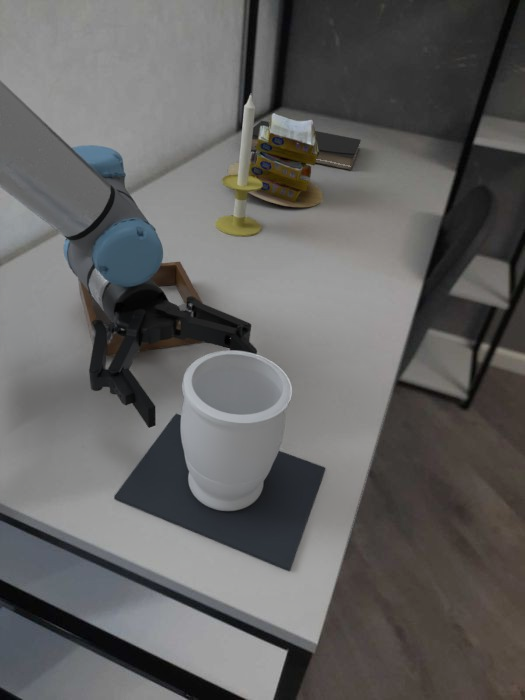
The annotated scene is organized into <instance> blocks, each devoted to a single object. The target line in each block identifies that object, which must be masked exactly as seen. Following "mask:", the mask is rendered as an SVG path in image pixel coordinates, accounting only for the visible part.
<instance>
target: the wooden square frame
mask: <svg viewBox="0 0 525 700" xmlns="http://www.w3.org/2000/svg"><path fill="white" fill-rule="evenodd" d="M151 279H152V280H153V281H154V282H155V283H156V284H157V285H158V286H159V287H164V286H165V287H166V286H175V287H176V289H177V290H178V292H179V294H180V296H181V299H182V300H183V303H184V304H185V303H187V297H190V296H192V297H195V298H196V299H198V300H199V301H200V302H201V303H203V301H202V299H201V297H200V296H199V294H198V292H197V290H196V288H195V286H194V284H193V282H192V281H191V279H190V277H189V275H188V273H187V271H186V270H185V268H184V266H183V265H182V262H181V261H170V262H162V263H161V266H160V268H159V269H158V271H157V272H156V273H155V274H154V275H153V277H151ZM77 280H78V289H79V290H78V291H79V295H80V299H81V302H82V303H81V304H82V307H83V312H84V316H85V319H86V322H87V328H88V331H89V335H90V340H91V344H92V346H93V345H94V337H93V327H92V321H94V320H98V318H97V315H96V311H95V307H94V303H93V300H92V295H91V294H90V292H89V291H88V290H87V288H86V287H85V286H84V285H83V283H82V282H81V281H80V280H79V278H78V277H77ZM177 329H179V330H181V321H180V320H179V323H178V327H177ZM123 339H124V337H121V336H119V335H118V334H116V333H115V334H113V338H112V339H111V340H110V343H107V344H108V352H107V357H111V356H115V354H116V353H117V351H118V349H119V347H120V345H121V343H122V341H123ZM198 343H203V342H202V341H198V340H194V339H190V338H186V339H185V340H181V339H178V338H174V337H172V338H171V339H167V340H160V341H158V342H156V343H154V344H150V345H149V344H148V343H143V344H142V346H141V348H140V350H139V352H143V351H144V352H145V351H149V350H156V349H163V348H170V347H171V348H172V347H177V346H184V345H191V344H198Z"/></svg>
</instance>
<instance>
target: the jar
mask: <svg viewBox="0 0 525 700" xmlns="http://www.w3.org/2000/svg"><path fill="white" fill-rule="evenodd" d="M181 387H182V388H181V390H182V394H183V397H184V399H183V402H182V408H181V414H180V415H181V424H180V429H181V440H182V445H183V449H184V455H185V460H186V464H187V467H188V470H189V475H188V482H189V487H190V489H191V491H192V493H193V495H194V496H195V497H196V498H197V499H198V500H199V501H200V502H201V503H203V504H204V505H206V506H208V507H210V508H213V509H216V510H220V511H236V510H240V509H243V508H245V507H248V506H249V505H251V504H252V503H254V502H255V501H256V500H257V498H258V497H259V496H260V494H261V492H262V489H263V483H264V480H265V478H266V477H267V475H268V473H269V471H270V469H271V467H272V465H273V462H274V460H275V458H276V456H277V454H278V452H279V451H280V449H281V446H282V444H283V443H282V442H283V438H284V434H285V426H286V411H287V410H288V407H289V406H290V402H291V399H292V395H293V387H292V383H291V380H290V378H289V377H288V375H287V374H286V372H285V371H284V369H282V367H280V366H279V365H278V364H276V363H275V362H274V361H272V360H271V359H269V358H266V357H265V356H262V355H260V354H258V353H257V354H253V353H250V352H244V351H235V350H230V349H228V350H219V351H213V352H210V353H207V354H204V355H202V356H200V357H198V358H197V359H195V360H194V361H193V362H192V363H191V364H189V366H188V367H187V368H186V369H185V372H184V374H183V378H182V384H181Z"/></svg>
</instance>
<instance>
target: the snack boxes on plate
mask: <svg viewBox="0 0 525 700" xmlns="http://www.w3.org/2000/svg"><path fill="white" fill-rule="evenodd" d="M267 122H268V123H269V122H270V125H269V127H267V126H263V125H261V126H260V129H259V134H258V140H257V142H256V143H257V146H255V147H254V148H255V151H252V152H251V155H250V165H249V175H248V176H252V177H254V178H257V179H259V180H260V181H261V182H262V183H263V187H262V188H261V189H260V190H257V191H250V192H248V193H247V194H250V195H251V196H254V197H256V198H259V199H261V200H264V201H266V202H268V203H273V204H276V205H280V206H284V207H291V208H311V207H314V206H317V205H319V204H321V202H322V201H323V199H324V193H323V192H322V190H321V188H320V187H319V186H317V184H316V183H315V182H313V181H312V180H311V176H312V166H315V164H316V163H315V162H316V159H317V157H318V155H319V151H318V146H317V141H316V139H315V131H316V130H315V129H316V128H315V125H314V120H313V119H309V120H298V119H295V118H291V117H287V116H283V115H279V114H277V113H275V112H274V113H272V114H271V115H270V118H269V119H268V121H267ZM238 170H239V161H236V162H233V163H231V164H230V166H229V167H228V168H227V174H228V175H236V174H238Z"/></svg>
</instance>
